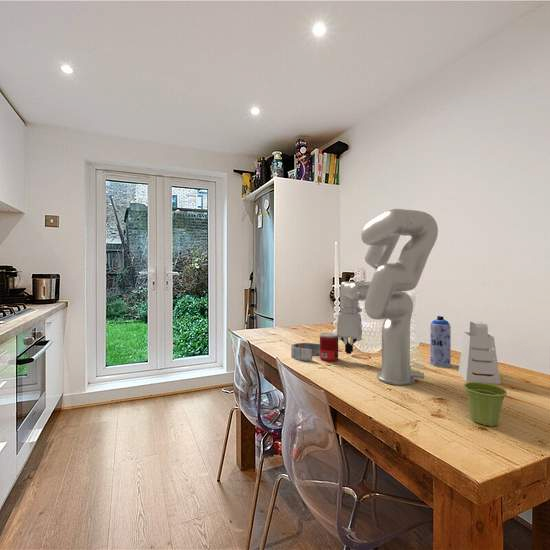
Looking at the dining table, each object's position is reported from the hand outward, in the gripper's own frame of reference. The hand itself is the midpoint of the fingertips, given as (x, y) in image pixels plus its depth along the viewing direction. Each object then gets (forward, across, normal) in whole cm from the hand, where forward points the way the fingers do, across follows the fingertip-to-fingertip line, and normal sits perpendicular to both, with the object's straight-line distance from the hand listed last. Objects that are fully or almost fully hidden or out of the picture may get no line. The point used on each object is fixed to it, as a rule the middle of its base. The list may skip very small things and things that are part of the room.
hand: (349, 353), depth 142 cm
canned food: (+4, +9, 0) cm, 10 cm away
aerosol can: (+4, -35, -11) cm, 37 cm away
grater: (+3, -47, +2) cm, 47 cm away
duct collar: (+4, +20, 0) cm, 20 cm away
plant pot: (+3, -44, +41) cm, 61 cm away
